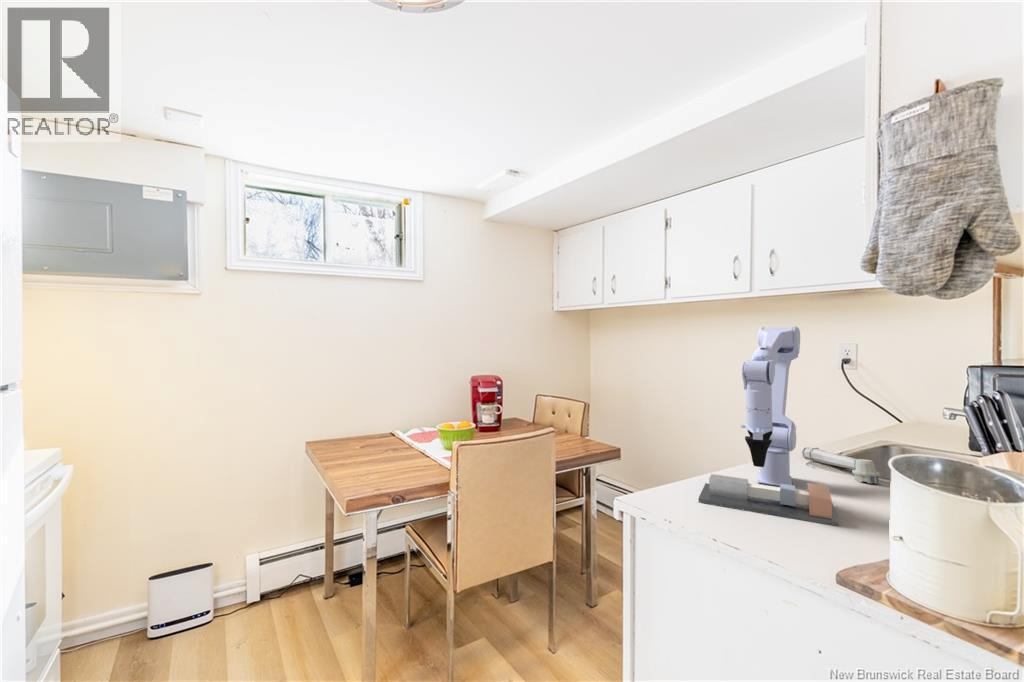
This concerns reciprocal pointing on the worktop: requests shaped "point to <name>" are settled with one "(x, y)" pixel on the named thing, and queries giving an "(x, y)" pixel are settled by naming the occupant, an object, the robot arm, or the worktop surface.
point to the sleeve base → (754, 500)
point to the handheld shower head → (845, 464)
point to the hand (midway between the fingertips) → (759, 462)
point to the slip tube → (779, 494)
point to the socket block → (819, 500)
